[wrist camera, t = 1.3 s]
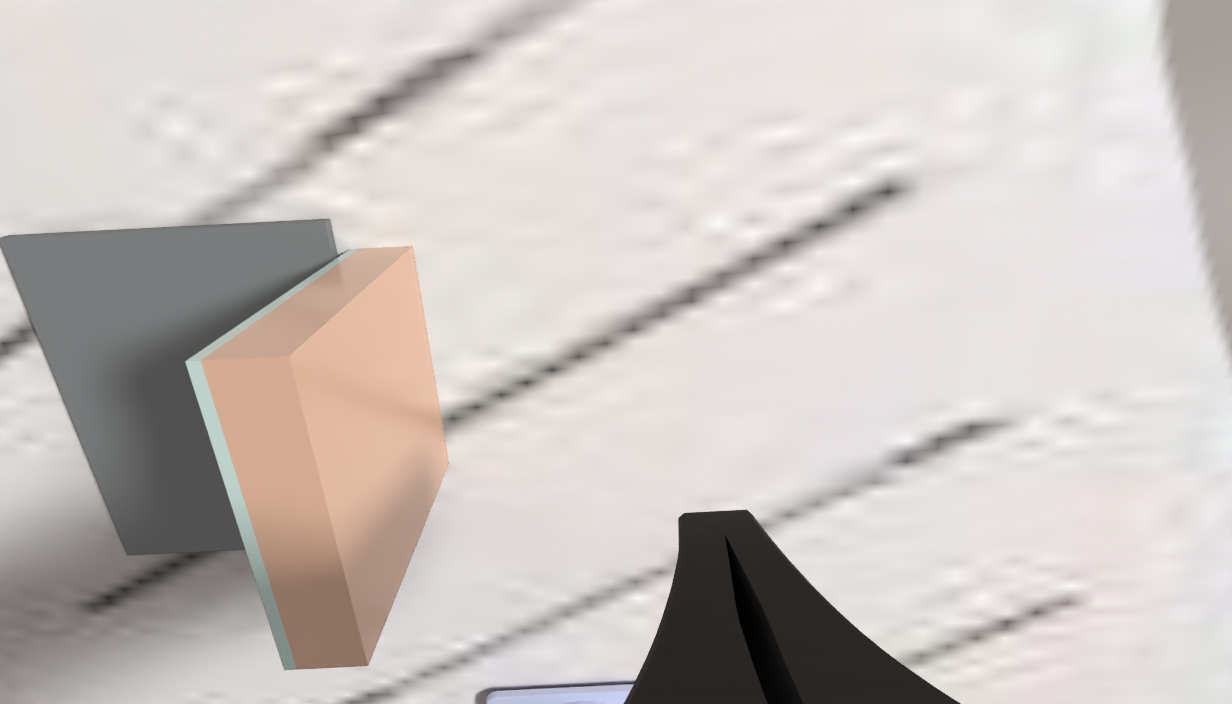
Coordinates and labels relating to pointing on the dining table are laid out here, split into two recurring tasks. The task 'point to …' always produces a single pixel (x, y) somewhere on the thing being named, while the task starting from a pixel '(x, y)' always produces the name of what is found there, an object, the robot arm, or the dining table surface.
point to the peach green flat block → (328, 449)
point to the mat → (155, 355)
